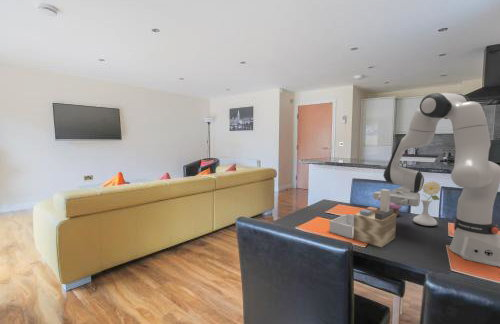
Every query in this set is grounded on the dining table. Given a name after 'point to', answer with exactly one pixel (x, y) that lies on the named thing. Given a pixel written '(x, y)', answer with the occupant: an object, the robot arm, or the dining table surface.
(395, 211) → the cupcake
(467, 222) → the robot arm
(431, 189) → the flower in vase
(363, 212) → the slate tile
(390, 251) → the dining table surface
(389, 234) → the wooden grain block
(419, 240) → the dining table surface
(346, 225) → the box
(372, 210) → the terracotta tile
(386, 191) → the scraper
